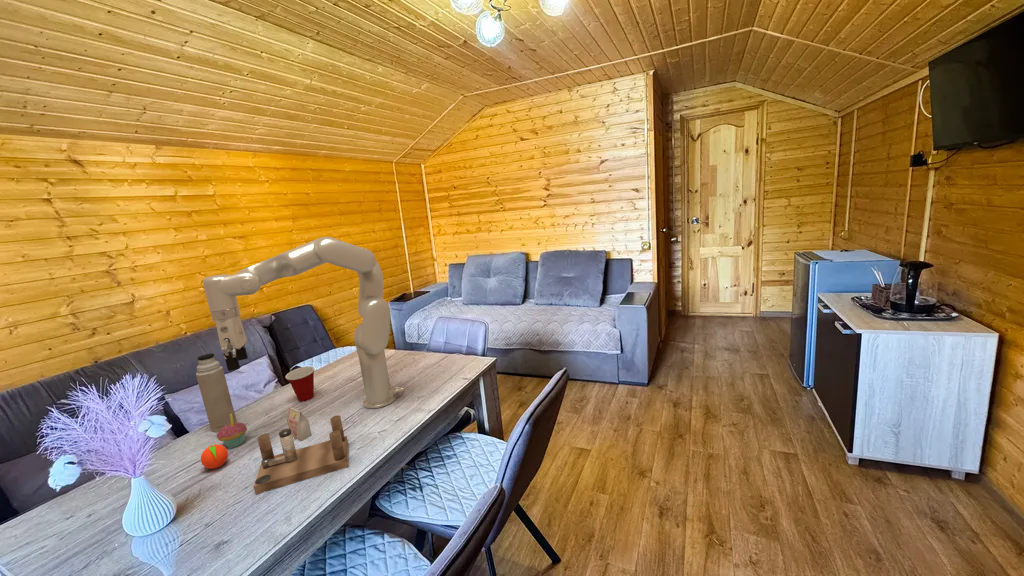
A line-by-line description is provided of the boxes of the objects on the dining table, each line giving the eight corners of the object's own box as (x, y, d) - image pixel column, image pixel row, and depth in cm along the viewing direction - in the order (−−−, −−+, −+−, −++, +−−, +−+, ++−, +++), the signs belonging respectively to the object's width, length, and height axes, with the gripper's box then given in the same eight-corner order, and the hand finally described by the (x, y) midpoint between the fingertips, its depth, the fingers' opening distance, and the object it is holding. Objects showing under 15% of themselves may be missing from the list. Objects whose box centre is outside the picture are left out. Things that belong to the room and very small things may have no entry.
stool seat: (348, 442, 135) (342, 413, 133) (348, 466, 122) (341, 434, 120) (264, 466, 127) (256, 435, 124) (255, 494, 114) (246, 460, 112)
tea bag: (301, 431, 145) (295, 404, 143) (311, 435, 142) (305, 408, 139) (290, 436, 142) (284, 409, 140) (301, 441, 139) (295, 414, 137)
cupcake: (255, 438, 144) (247, 406, 141) (232, 452, 136) (223, 419, 133) (237, 435, 146) (229, 404, 144) (214, 449, 139) (204, 417, 136)
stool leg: (261, 469, 120) (254, 441, 118) (263, 463, 123) (256, 436, 121) (296, 459, 123) (290, 432, 121) (297, 454, 126) (291, 427, 124)
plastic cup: (285, 403, 168) (278, 376, 166) (306, 391, 178) (301, 365, 175) (304, 406, 164) (298, 378, 161) (325, 393, 174) (320, 367, 171)
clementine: (233, 466, 128) (227, 445, 127) (206, 478, 123) (200, 456, 122) (228, 456, 134) (222, 436, 132) (201, 467, 129) (196, 447, 128)
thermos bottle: (206, 433, 150) (186, 361, 144) (219, 422, 158) (200, 352, 152) (229, 430, 151) (209, 358, 145) (241, 419, 158) (223, 350, 153)
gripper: (231, 318, 125) (244, 371, 128) (246, 306, 141) (257, 353, 144) (202, 322, 122) (216, 376, 126) (220, 310, 138) (232, 358, 142)
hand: (238, 364), depth 135 cm, fingers open, 9 cm apart
